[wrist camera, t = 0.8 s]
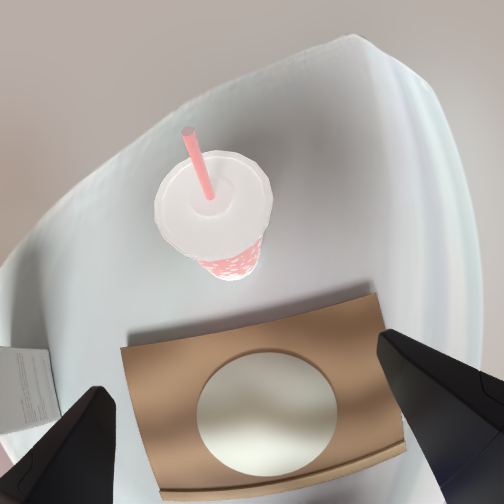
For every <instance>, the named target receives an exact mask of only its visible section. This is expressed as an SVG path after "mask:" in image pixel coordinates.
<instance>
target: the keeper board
mask: <svg viewBox="0 0 504 504" xmlns="http://www.w3.org/2000/svg"><path fill="white" fill-rule="evenodd" d="M384 330H385V326H384V321H383V317H382V313H381V310H380V306H379V302H378V298H377V295H376V293H374V294H370V295H367V296H364V297H361V298H357V299H354V300H350V301H347V302H343V303H340V304H336V305H333V306H329V307H325V308H322V309H318V310H314V311H310V312H307V313H303V314H299V315H295V316H291V317H286V318H282V319H278V320H274V321H270V322H265V323H261V324H256V325H252V326H247V327H242V328H237V329H233V330H228V331H223V332H217V333H212V334H207V335H201V336H196V337H190V338H184V339H178V340H172V341H166V342H159V343H152V344H145V345H138V346H130V347H122V348H120V349H121V355H122V361H123V366H124V371H125V376H126V380H127V385H128V389H129V394H130V398H131V402H132V406H133V410H134V414H135V417H136V421H137V425H138V428H139V431H140V435H141V438H142V441H143V444H144V448H145V451H146V454H147V457H148V459H149V462H150V465H151V468H152V471H153V473H154V476H155V478H156V481H157V484H158V486H159V489H160V491H159V493H160V495H161V498H162V500H165V501H215V500H229V499H240V498H249V497H257V496H263V495H270V494H276V493H281V492H286V491H291V490H296V489H300V488H304V487H308V486H312V485H316V484H320V483H324V482H327V481H330V480H334V479H337V478H340V477H343V476H346V475H349V474H352V473H355V472H358V471H361V470H363V469H366V468H368V467H371V466H374V465H376V464H378V463H381V462H383V461H386V460H388V459H390V458H392V457H395V456H397V455H399V454H401V453H403V452H405V451H406V441H404V435H403V426H402V417H401V410H400V407H399V405H398V403H397V402H396V400H395V398H394V396H393V394H392V391H391V389H390V387H389V384H388V382H387V379H386V377H385V374H384V372H383V369H382V367H381V365H380V362H379V360H378V358H377V354H376V349H377V341H378V334H379V333H380V332H382V331H384Z"/></svg>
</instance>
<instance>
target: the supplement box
mask: <svg viewBox="0 0 504 504" xmlns="http://www.w3.org/2000/svg"><path fill="white" fill-rule="evenodd" d="M60 418H61V415H60V411H59V407H58V403H57V398H56V393H55V388H54V383H53V378H52V372H51V365H50V359H49V351H48V350H46V349H30V348H14V347H3V346H0V436H1V435H6V434H10V433H15V432H19V431H23V430H27V429H31V428H34V427H38V426H41V425H44V424H48V423H51V422H54V421H57V420H59V419H60Z"/></svg>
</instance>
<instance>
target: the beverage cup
mask: <svg viewBox="0 0 504 504" xmlns="http://www.w3.org/2000/svg"><path fill="white" fill-rule="evenodd" d="M181 135H182V137H183V140H184V143H185V145H186V148H187V150H188V153H189V156H190V157H189V158H188V159H186V160H184V161H182V162H180V163H179V164H177V165H176V166H175V167H174V168H173V169H172V170H171V171H170V172H169V173H168V175H167V176H166V177H165V178H164V179H163V180H162V182H161V184H160V187H159V189H158V192H157V194H156V197H155V199H154V213H155V222H156V224H157V226H158V228H159V230H160V232H161V234H162V236H163V238H164V240H165V241H166V242H168V243H169V244H170V245H171V246H173V247H174V248H175V249H177V250H178V251H179V252H181V253H182V254H183V255H185V256H186V257H190V258H194V259H195V260H196V261H197V262H198V263H199V264H201V265H202V266H203V267H204V268H205V269H207V270H208V271H209V272H210V273H212V274H213V275H214V276H216V277H217V278H219V279H224V280H228V281H232V280H238V279H242V278H243V277H245V276H247V275H248V274H250V273H251V272H252V271H253V269H254V268H255V267H256V265H257V264H258V260H259V256H260V251H261V244H262V238H263V232H264V231H265V229H266V228H267V227H268V223H269V219H270V214H271V210H272V204H273V194H272V190H271V186H270V182H269V178H268V177H267V175H266V174H265V173H264V172H263V170H262V169H261V168H260V167H259V166H258V164H257V163H256V162H254V161H252V160H251V159H249V158H247V157H245V156H243V155H241V154H239V153H236V152H229V151H221V150H214V151H209V152H204V153H201V150H200V146H199V143H198V140H197V137H196V134H195V131H194V128H193V127H185V128H184V129H183V130H182V131H181Z"/></svg>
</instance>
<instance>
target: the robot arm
mask: <svg viewBox="0 0 504 504" xmlns="http://www.w3.org/2000/svg"><path fill="white" fill-rule="evenodd" d="M376 354H377V358H378V360H379V362H380V365H381V367H382V369H383V372H384V374H385V377H386V379H387V382H388V384H389V387H390V389H391V391H392V394H393V396H394V398H395V400H396V402H397V403H398V405H399V407H400V409H401V411H402V413H403V415H404V416H405V418H406V420H407V422H408V424H409V426H410V428H411V430H412V432H413V434H414V435H415V437H416V439H417V441H418V443H419V445H420V447H421V449H422V451H423V453H424V455H425V457H426V459H427V461H428V463H429V465H430V468H431V470H432V472H433V474H434V476H435V478H436V480H437V482H438V485H439V487H440V489H441V491H442V494H443V496H444V498H445V500H446V503H447V504H504V381H503V380H500V379H498V378H495V377H493V376H491V375H488V374H486V373H484V372H482V371H479V370H478V369H475V368H473V367H471V366H469V365H467V364H465V363H463V362H460V361H458V360H456V359H454V358H452V357H450V356H448V355H446V354H444V353H441V352H439V351H437V350H435V349H433V348H431V347H429V346H427V345H425V344H422V343H420V342H418V341H416V340H414V339H412V338H410V337H408V336H406V335H404V334H402V333H399V332H397V331H395V330H393V329H387V330H384V331H382V332H380V333H379V334H378V341H377V349H376ZM115 449H116V404H115V401H114V400H113V398H112V397H111V396H110V394H109V393H108V392H107V391H106V389H105V388H104V387H103V386H92V387H91V388H90V389H89V390H88V391H87V392H86V393H85V394H84V395H83V396H82V397H81V398H80V399H79V400H78V401H77V402H76V403H75V404H74V405H73V406H72V407H71V408H70V409H69V410H68V411H67V412H66V413H65V414H64V415H63V416H62V417H61V418H60V419H59V420H58V421H57V422H56V423H55V424H54V425H53V426H52V427H51V428H50V429H49V430H48V432H47V433H46V434H45V435H44V436H43V437H42V438H41V439H40V440H39V441H38V442H37V443H36V444H35V445H34V446H33V448H31V449H30V450H29V451H28V453H27V454H26V455H25V456H24V457H23V458H22V459H21V460H20V461H19V462H18V463H16V464H15V465H14V466H13V467H12V468H11V469H10V470H9V471H8V472H6V473H5V474H4V475H3V476H2V477H1V478H0V504H113V480H114V462H115Z"/></svg>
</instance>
